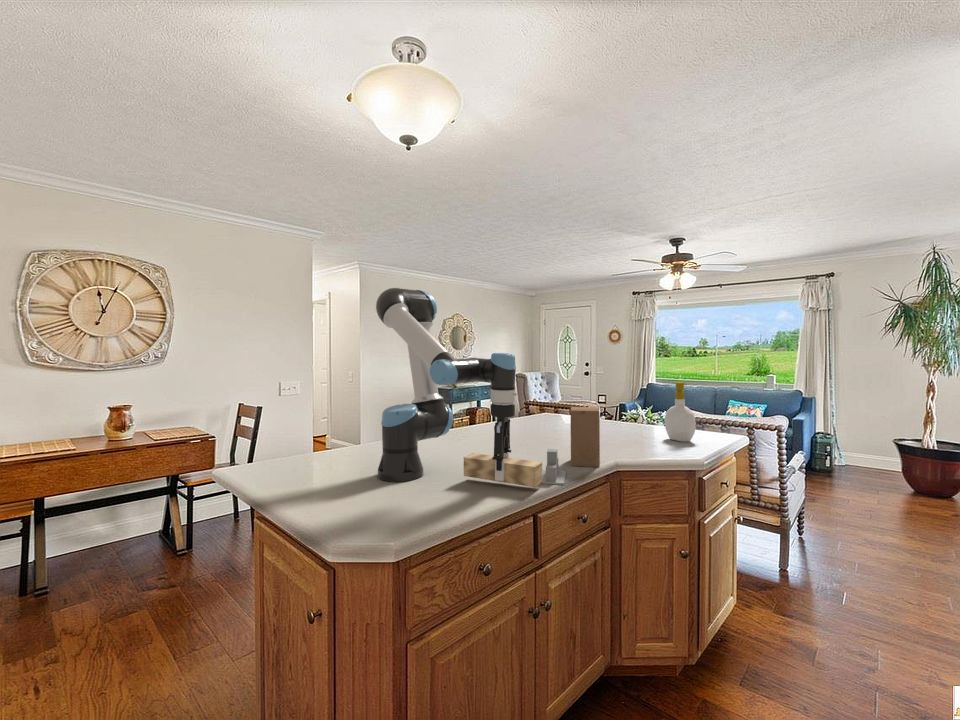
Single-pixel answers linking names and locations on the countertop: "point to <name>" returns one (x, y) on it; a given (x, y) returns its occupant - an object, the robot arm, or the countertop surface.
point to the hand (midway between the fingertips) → (501, 476)
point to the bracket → (552, 470)
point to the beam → (513, 469)
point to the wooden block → (585, 436)
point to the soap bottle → (680, 418)
